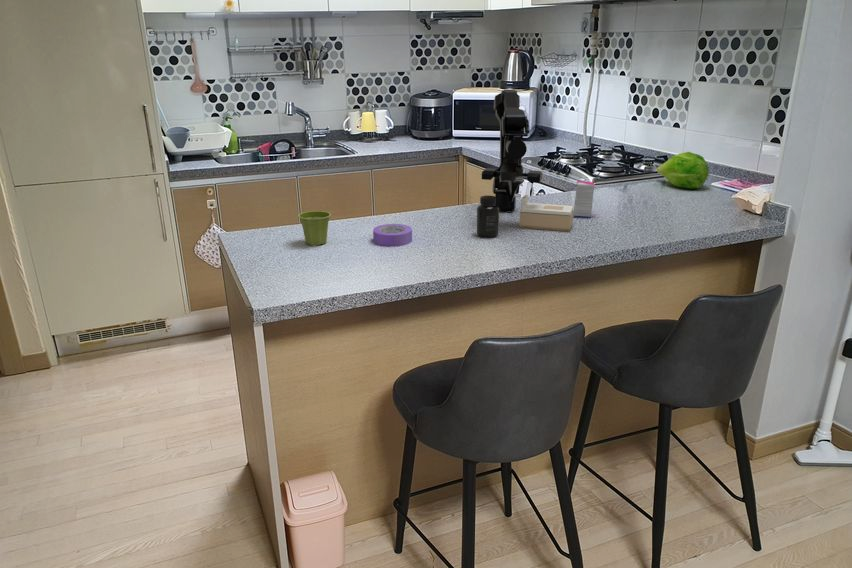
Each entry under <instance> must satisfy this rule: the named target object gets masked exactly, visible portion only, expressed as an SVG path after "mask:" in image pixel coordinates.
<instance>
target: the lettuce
mask: <svg viewBox="0 0 852 568" xmlns="http://www.w3.org/2000/svg"><path fill="white" fill-rule="evenodd" d="M709 171H710V170H709V166H708V163H707V161H706V160H705V158H704V156H702V155H700V154H697V153H693V152H691V151H685V152H681V153H678V154H675V155H673V156H672V157H670V158H669V159H667V160H666V161H665V162H663V163H662V164H660V165H659V166H658V167H657V168H656V172H657V174H660V175H661V176H662V177H664V178H665V179H666V180H667V181H668V182H669V183H670V184H672V185H673V186H675V187H678V188H682V189H687V190H688V189H690V190H694V189H699V188H701V187H703V185H704V184H705V182H706V180H707V179H708V177H709V174H710V173H709Z"/></svg>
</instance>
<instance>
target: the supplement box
mask: <svg viewBox="0 0 852 568" xmlns="http://www.w3.org/2000/svg"><path fill="white" fill-rule="evenodd" d="M594 182H595V181H584V180H583V181H582V180H577V181H576V188H575V197H574V198H575V199H574V205H573V210H574V212H573V218H577V219H578V218H581V219H591V218H592V211H593V202H594V201H593V200H594V194H595V193H594V192H595V183H594Z"/></svg>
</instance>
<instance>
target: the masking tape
mask: <svg viewBox="0 0 852 568" xmlns="http://www.w3.org/2000/svg"><path fill="white" fill-rule="evenodd" d="M372 236H373V243H374V244H376V245H378V246H382V247H383V246H384V247H401V246H406V245H409V244H411V243H412V242H413V228H412V227H411V226H409V225H407V224H402V223H385V224H381V225H377V226H375V227H373V229H372Z"/></svg>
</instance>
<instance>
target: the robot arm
mask: <svg viewBox="0 0 852 568" xmlns="http://www.w3.org/2000/svg"><path fill="white" fill-rule="evenodd" d="M520 101H521V98H520V94H518V91H517V90H516V89H503V90H501V92H500V93H498V94H495V96H494V100H493V111H495V117H496V119H497V120H498V122H499V142H500V143H499V166H498V168H492V167H486V168H485V169H483V171H482V172H481V180H485V181H491V180H492V179H493V181H492V193H493V195H494V196H495V197H496V204H495V205H497V206H498V207H499V212H502V213H513V211H514V210H516V204H517V196H515V195H518V194H519V193H520V186H521V185H522V184H523V183H524V182H525V180H527V182H529V183H531V184H532V183H533V184H534V183H536V184H540V183H541V182H542V180H543V172H542V171H541V170H529V171H528V172H524V166H523V164H522V160H523V157H524V156H526V153H527V150H528V149H527V147H528V146H527V144H526V143H525V142H524V137H528V136H529V134H530V122H529V121H530V120H529V118H528V116H527V115H526V112H525V111H524V110H523V109H521V108H520V106H521V105H520Z"/></svg>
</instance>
